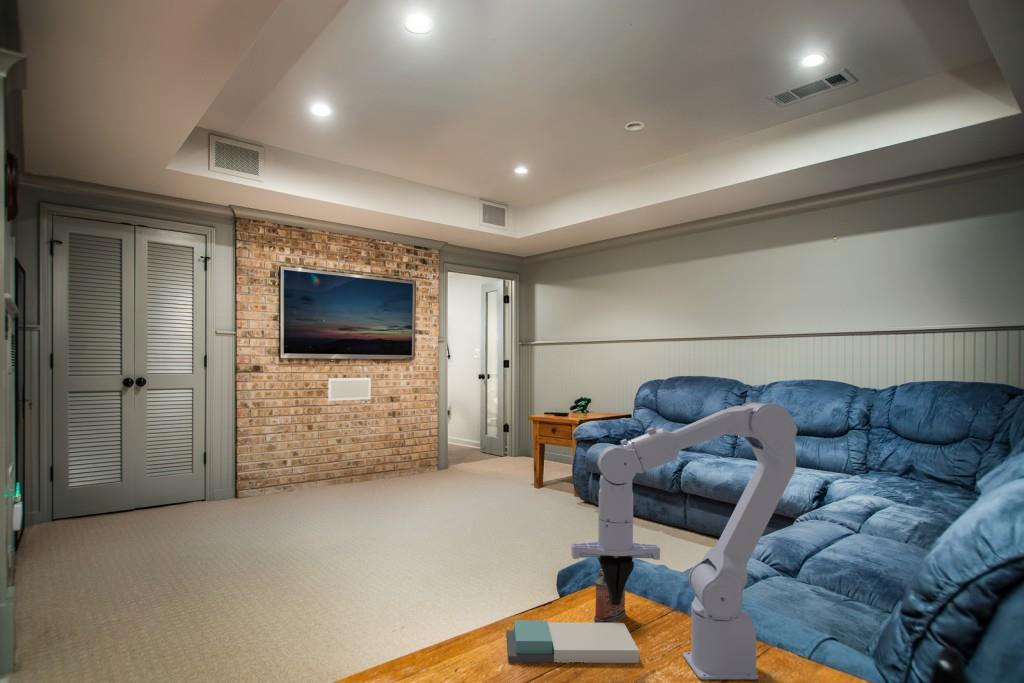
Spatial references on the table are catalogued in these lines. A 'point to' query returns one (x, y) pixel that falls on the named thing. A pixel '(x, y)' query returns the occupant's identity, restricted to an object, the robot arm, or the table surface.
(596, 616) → the lighter
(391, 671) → the table surface
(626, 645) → the plinth
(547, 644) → the tile
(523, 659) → the mat
